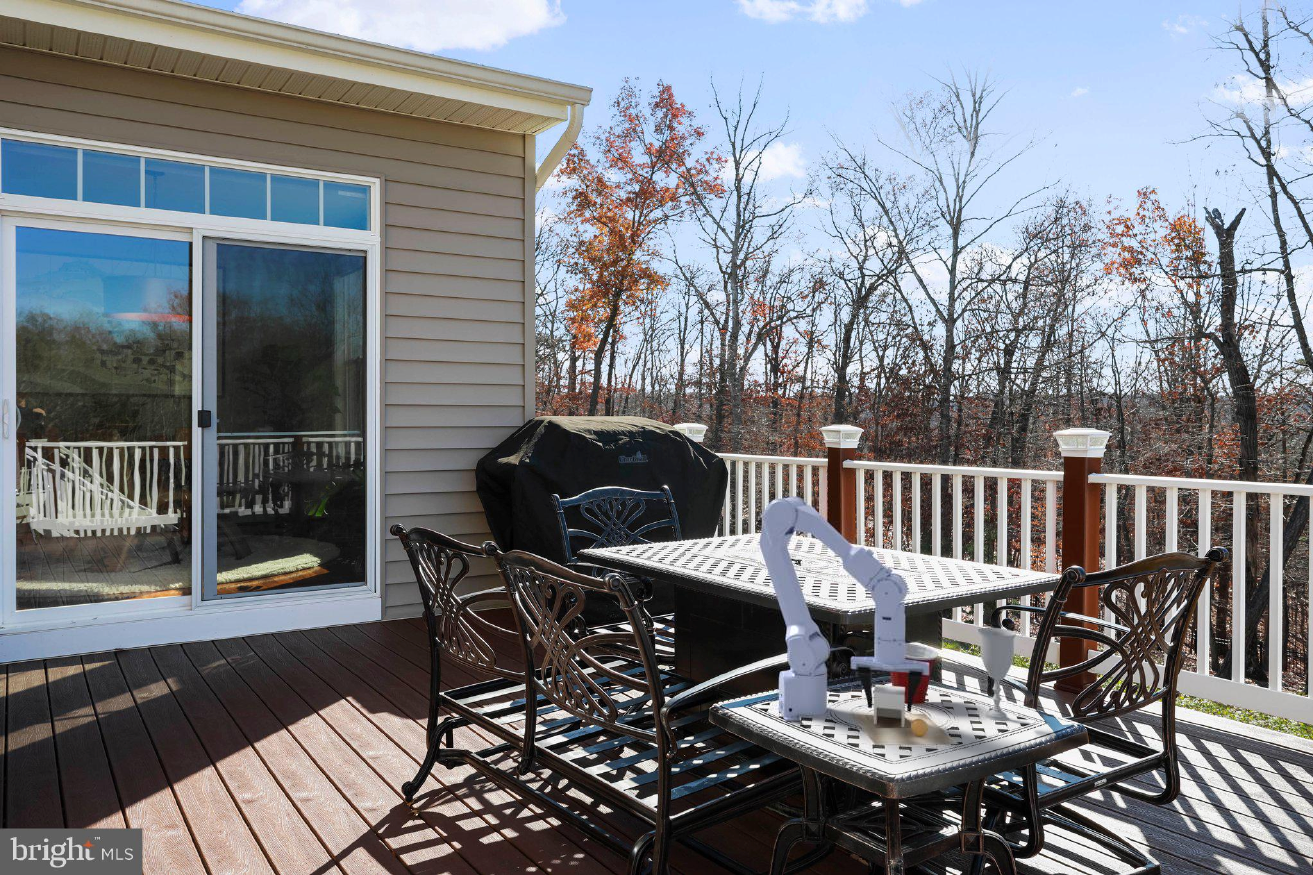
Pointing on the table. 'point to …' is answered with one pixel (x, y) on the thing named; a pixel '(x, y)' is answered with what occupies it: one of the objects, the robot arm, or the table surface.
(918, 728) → the orange marble
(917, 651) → the plastic cup
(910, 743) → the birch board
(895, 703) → the white tabletop archway
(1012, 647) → the chalice
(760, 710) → the table surface
